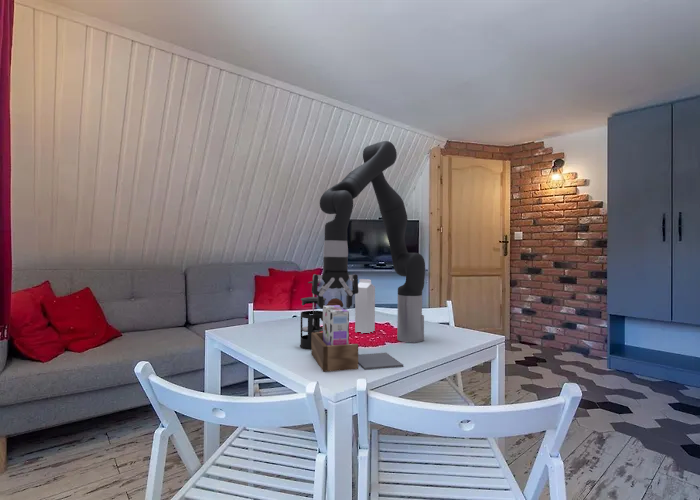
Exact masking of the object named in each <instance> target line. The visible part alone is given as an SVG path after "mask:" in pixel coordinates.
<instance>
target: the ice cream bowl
mask: <svg viewBox="0 0 700 500" xmlns="http://www.w3.org/2000/svg"><path fill="white" fill-rule="evenodd" d="M333 305H339V306H341V307H342V308H344V303H343V300H341V299H340V298H336V297H335V298H331V299H330V300H328V302H327V304H325V306H333ZM320 321H321V322H323V318H320Z"/></svg>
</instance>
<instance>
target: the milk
mask: <svg viewBox="0 0 700 500" xmlns="http://www.w3.org/2000/svg"><path fill="white" fill-rule="evenodd" d="M354 295H355V299H354V303H355V304H354V307H355V308H354V311H355V312H354V332H355V333H357V332H361V333H360V334H363V333H369V334H371V333H370V332H372V333H374V332H373V331H375V332H376V330H375V329H376V328H375V327H376V325H375V324H376V323H375V322H376V286H375V285H374V284H373V283H372V280H371V279H367V278H366V279H365V278H358V293H357V294H354Z"/></svg>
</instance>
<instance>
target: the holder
mask: <svg viewBox="0 0 700 500" xmlns="http://www.w3.org/2000/svg"><path fill="white" fill-rule="evenodd" d="M310 351H311V352H310V355H311V357H313V359H314V361H315V362H316V363H317V365H318V366H319V368H320V369H321V371H322V372H323V373H324V372H325V373H326V372H338V371H349V370H350V371H351V370H359V364H358V355H359V344H358V343H349V344H345V345H329V346H327V345H326V344H325V343H324V342H323V331H322V332H315V333H314V332H313V333H311V350H310Z"/></svg>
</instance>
